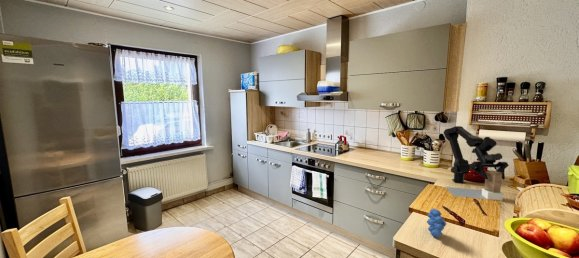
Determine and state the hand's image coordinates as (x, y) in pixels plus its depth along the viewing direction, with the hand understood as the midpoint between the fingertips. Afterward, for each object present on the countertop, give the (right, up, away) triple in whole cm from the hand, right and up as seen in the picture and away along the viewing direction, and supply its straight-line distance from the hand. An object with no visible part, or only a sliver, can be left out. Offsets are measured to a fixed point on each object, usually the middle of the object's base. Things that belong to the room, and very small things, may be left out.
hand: (495, 179), depth 136 cm
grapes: (-55, -17, -36) cm, 68 cm away
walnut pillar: (0, -7, +2) cm, 7 cm away
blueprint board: (-6, -11, +9) cm, 16 cm away
